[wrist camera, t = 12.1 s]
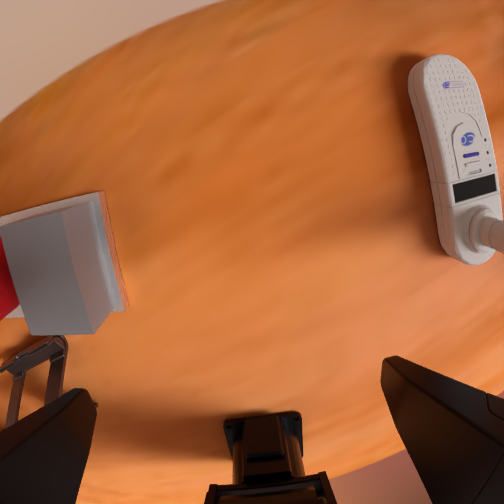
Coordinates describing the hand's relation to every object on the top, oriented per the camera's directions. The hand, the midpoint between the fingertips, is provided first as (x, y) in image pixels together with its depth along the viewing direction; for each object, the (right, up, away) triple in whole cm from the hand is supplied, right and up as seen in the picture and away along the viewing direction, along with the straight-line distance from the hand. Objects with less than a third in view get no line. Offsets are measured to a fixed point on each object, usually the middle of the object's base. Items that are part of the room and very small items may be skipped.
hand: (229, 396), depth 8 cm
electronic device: (+15, +11, +11) cm, 22 cm away
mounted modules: (-19, +3, +12) cm, 22 cm away
